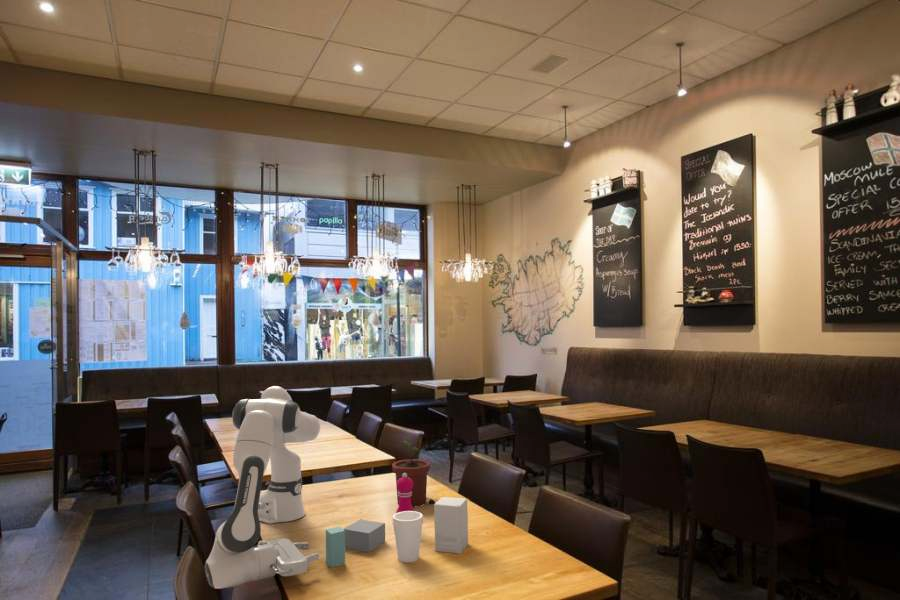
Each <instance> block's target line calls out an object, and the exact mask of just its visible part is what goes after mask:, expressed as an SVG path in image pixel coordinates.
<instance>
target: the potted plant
mask: <svg viewBox="0 0 900 600" xmlns="http://www.w3.org/2000/svg"><path fill="white" fill-rule="evenodd" d="M402 441H403V443H404V444H405V446H406V447H408V448H409V449H410V459H402V460H398V461H395V462H393V463H392V464H391V466H392V467H391V468H392V472H393V473H394V474H395V482H396V485H397V481H398V480H399V479H400V478H402V475H403V473H406V474H407V477H408V478H410V479H411V480H412V481H413V488H412V489H411V491H412V495H411V505H412V507H413V508H416V507H415V506H419V507H422V506H421V505H423V504H428V503H429V504H433V505H434V503H436V501H435V500H434V499H432V498H430V499H429V500H428V501H429V502H427V486H428V483H427V481H428V480H427V479H428V473H429V472H430V471H431V462H430V461H428V460H425V459H414V458H413V451H414V452H415V451H416V452H417V451H419V448H417V447H416V446H414V447H413V449H412V448H411V444H410V442H408V441H406V440H402ZM398 491H399V490H398V489H397V486H396V499H397V505H398V506H399V496H398ZM429 504H428V505H429ZM423 506H424V505H423Z"/></svg>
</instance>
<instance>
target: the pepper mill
mask: <svg viewBox="0 0 900 600" xmlns="http://www.w3.org/2000/svg"><path fill="white" fill-rule="evenodd" d="M396 486H397V487H396V490H397V489H398V490H399V491H398V496H399V505H398V507H397V509H396V512H395V514H396V513H398V512H403V511H415V510H414V507H412V505H411V495H412V491H411V489H412V488H413V481H412V480H411V479H410V478H408V477H407V474H406V473H403V475H402V478H400V479H399V480H398V481H397V485H396Z"/></svg>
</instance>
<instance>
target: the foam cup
mask: <svg viewBox="0 0 900 600" xmlns="http://www.w3.org/2000/svg"><path fill="white" fill-rule="evenodd" d="M423 523H424V515H423V513H421V512H419V511H415V510H414V511H403V512H398V513H396V512H395V513H394V514H393V515H392V525H393V531H394V537H395V545H396V554H397V557H398V558H397V559H398V561H400V562H402V563H412V562H416V561H417V560H419V556H420V548H421V538H422V529H423Z"/></svg>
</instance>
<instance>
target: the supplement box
mask: <svg viewBox="0 0 900 600" xmlns="http://www.w3.org/2000/svg"><path fill="white" fill-rule="evenodd" d="M433 515H434V517H433V518H434V551H436V552H443V553H451V554H462V553H463V551H464V550H465V549H466V547H467V546H468V545H469V527H468V526H469V525H468V524H469V522H468V521H469V518H468V515H469V514H468V499H467V498H464V497H463V498H462V497H449V496H442V497H440V499H439V500H437V501H435V504H433Z"/></svg>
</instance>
